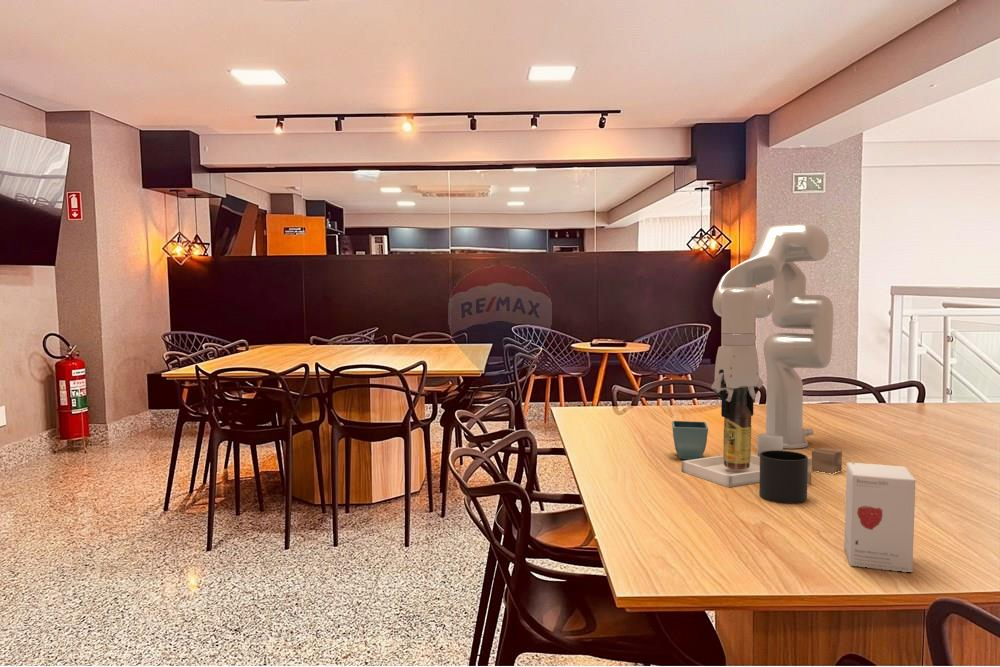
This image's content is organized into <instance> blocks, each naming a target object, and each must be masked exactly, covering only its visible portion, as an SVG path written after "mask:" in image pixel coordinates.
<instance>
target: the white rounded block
mask: <svg viewBox="0 0 1000 667" xmlns="http://www.w3.org/2000/svg"><path fill="white" fill-rule="evenodd" d="M756 450H757V454H756V456H759V457H760V453H761V452H764V451H772V450H781V451H784V448H783V436H781V435H777V434H766V433H759V434H758V435H757V449H756Z"/></svg>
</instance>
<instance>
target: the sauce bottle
mask: <svg viewBox="0 0 1000 667" xmlns="http://www.w3.org/2000/svg"><path fill="white" fill-rule="evenodd" d="M747 392H748V386H744V387H739V388H737V389H734V391H733V394H732V398H731V401H732V402H733V418H726V417H723V418H724V419H723V453H722V455H723V459H724V466H725V467H728V468H731V469H747V468H749V466H750V459H751V455H752V453H751V452H752V416H751V413H750V411H749V409H748V407H747Z"/></svg>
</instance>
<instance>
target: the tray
mask: <svg viewBox="0 0 1000 667" xmlns="http://www.w3.org/2000/svg"><path fill="white" fill-rule="evenodd" d="M680 462H681V468H680V469H681V472H683V473H685V474H689V475H691V476H694V477H697V478H699V479H702V480H706V481H709V482H711V483H714V484H718V485H720V486H723V487H726V488H735V487H738V486H739V487H740V486H746V485H750V484H758V483H760V457H759V456H757V455H755V454H751V459H750V466H749V468H747V469H731V468H728V467H725V466H724V459H723V454H721V455H715V456H708V457H707V456H706V457H701V458H700V459H685V460H681V461H680ZM757 482H758V483H757Z"/></svg>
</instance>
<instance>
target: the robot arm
mask: <svg viewBox="0 0 1000 667" xmlns="http://www.w3.org/2000/svg"><path fill="white" fill-rule="evenodd" d="M829 244H830V242H829V238H828V235H827V234H826V232H825V231H824V230H823V229H822V228H820V227H817V226H816V225H813V224H810V223H804V222H803V223H800V222H799V223H787V224H785V223H784V224H773V225H769V226H767V227H765V228H764V229H763V230H761V231H760V233H759V235H758V237H757V240H756V242H755V244H754V246H753V249H752V250H751V253H750V255H749V258H748V259H746V260H744V261H742V262H741V263H739V264H736V266H734V267H733V268H731V269H730V270H728V271H727V272H726V273H724V274H723V275H722V276H721V278H720V280H719V283H718V285H717V287H715V288H716V289H715V291H714V294H713V297H712V308H713V309H712V310H713V311H714V313H715V314H716V315H717V316H719V317H721V320H720V321H721V329H720V330H721V343H720V344H721V346H718V348H717V353H716V357H715V367H714V381H713V383H712V384H711V386H710V388H711V390H712V391H713V392H714V393H715V394H716V395H717V397H718V399H719V401H721V403H720V404H721V411H720V412H721V417H723V418H724V417H726V418H733V402H732V401H731V398H732V394H733V391H734V389H737V388H739V387H744V386H748V392H747V407H748V409H749V411H750V413H751V417H752V416H754V403H755V399H756V397H757V394H758V393H759V391H760V389H761V387H762V386H763V385H764V381H763V380H762V378H761V377H760V375H759V373H760V370H759V369H760V368H759V357H758V351H757V347H756V345H755V344H756V340H757V335H756V333H755V332H756V319H764V318H767V317H769V316H770V315H771V321H772V323H773V325H774V326H775V327H777V328H780V329H794V330H795V329H796V330H812V331H813V333H799V332H798V333H796V332H779V333H777V332H776V333H773V334H770V335H769V336H767V337H766V339H765V340H764V342H763V356H764V362H765V371H766V372H765V373H766V406H765V407H766V410H765V411H766V412H765V413H766V414H765V416H766V417H765V424H766V425H765V426H766V427H765V429H766V430H765V434H777V435H781V436H783V449H791V450H792V449H803V448H807V447H808V446H809V441H808V440H806V439H805V438H806V436H807V437H809V436H813V435H814V430H813V429H812V428H804V427H803V412H804V411H803V406H804V402H803V401H804V400H803V398H804V395H803V394H804V384H803V381H802V379H801V377H800V375H799V374H798V372H797V371H796V370H795V369H796V368H797V369H824V368H827V367H828V366H829V364H830V362H831V359H832V351H833V334H834V305H833V302H832V301H831V299H830V298H829V297H828V296H827V295H822V294H806V288H807V287H806V285H807V284H806V283H807V279H806V276H805V274H804V272H803V271H802V269H801V268H800V267H799V266H798V265H797V264H796V263H795V262H820V261H821V260H823V259H824V258H826V256H827V254H828V251H829V248H830V245H829ZM771 281H773V285H772V286H773V288H772V291H771V290H770V289H768V288H767V287H766V288H765V287H759V286H760V285H763V284H765V283H768V282H771ZM757 286H758V287H757Z"/></svg>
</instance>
